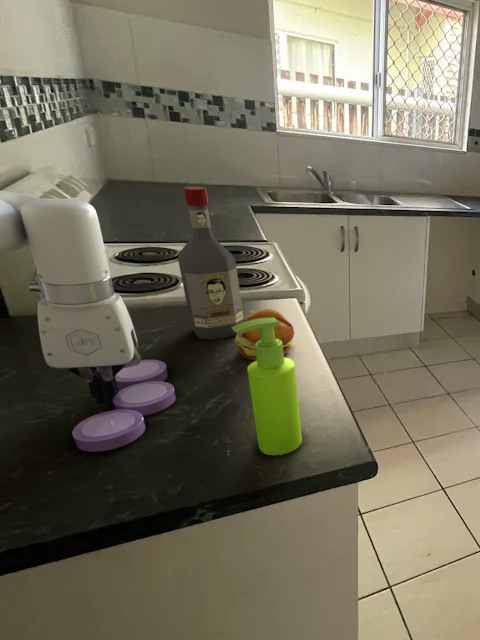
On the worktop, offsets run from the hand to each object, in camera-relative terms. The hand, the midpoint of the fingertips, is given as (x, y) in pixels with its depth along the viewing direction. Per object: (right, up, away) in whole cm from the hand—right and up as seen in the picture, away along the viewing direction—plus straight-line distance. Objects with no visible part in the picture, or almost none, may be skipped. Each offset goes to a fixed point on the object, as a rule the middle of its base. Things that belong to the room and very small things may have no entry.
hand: (106, 399), depth 75 cm
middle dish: (+4, -1, +2) cm, 5 cm away
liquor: (0, +11, +28) cm, 31 cm away
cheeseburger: (+15, +7, +22) cm, 27 cm away
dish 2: (-1, +2, +8) cm, 9 cm away
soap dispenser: (+29, -6, -4) cm, 30 cm away
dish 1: (+5, -4, -5) cm, 9 cm away
